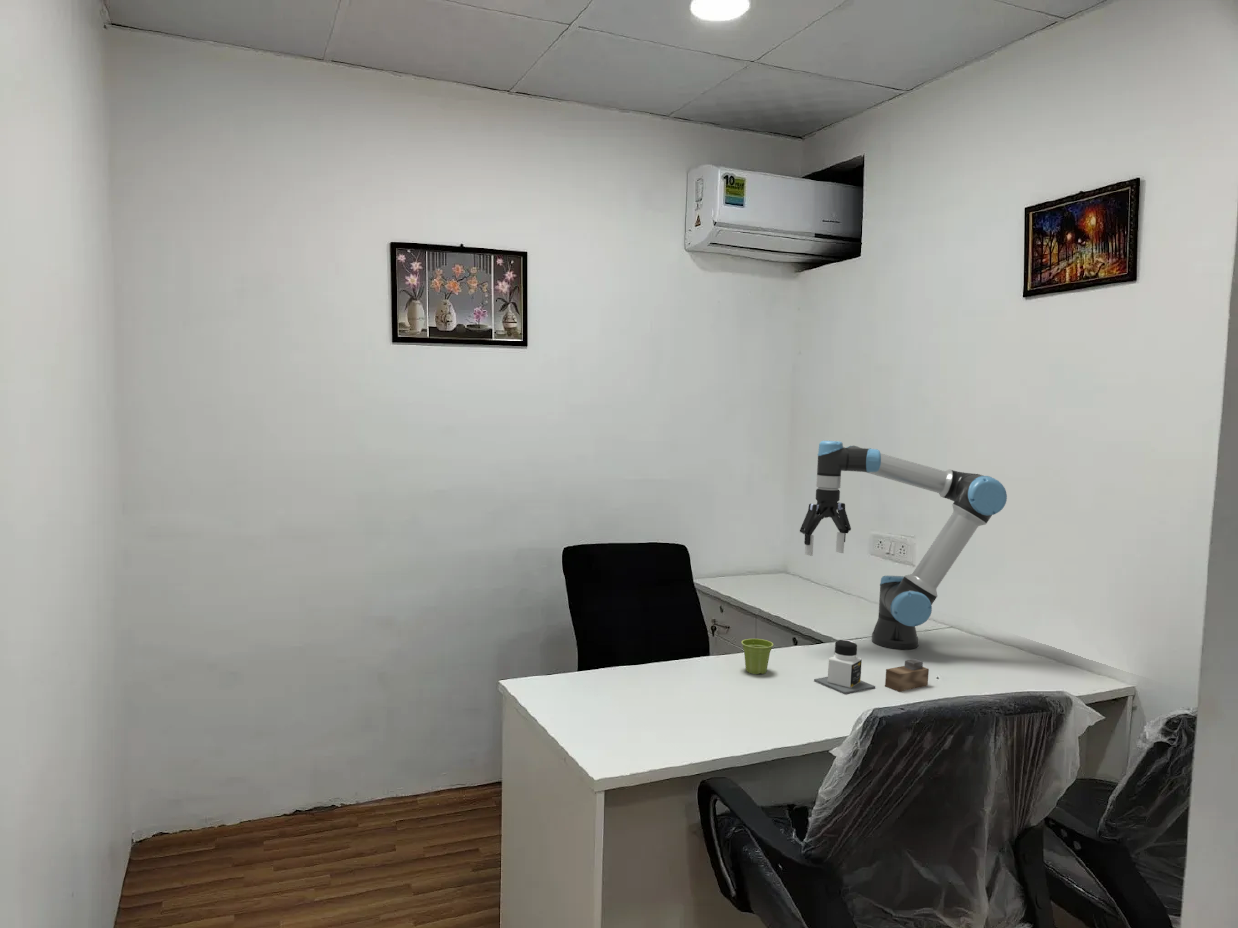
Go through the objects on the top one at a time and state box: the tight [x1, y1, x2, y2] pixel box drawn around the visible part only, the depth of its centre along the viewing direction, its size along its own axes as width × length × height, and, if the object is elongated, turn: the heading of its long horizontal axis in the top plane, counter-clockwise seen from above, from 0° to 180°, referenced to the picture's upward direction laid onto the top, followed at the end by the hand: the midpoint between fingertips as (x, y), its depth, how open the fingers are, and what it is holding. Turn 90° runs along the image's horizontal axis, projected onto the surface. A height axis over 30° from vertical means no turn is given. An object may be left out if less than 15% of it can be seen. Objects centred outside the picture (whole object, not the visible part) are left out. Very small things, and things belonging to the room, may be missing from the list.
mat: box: [813, 676, 876, 695], centre depth 241 cm, size 12×12×1 cm
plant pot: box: [741, 638, 774, 675], centre depth 249 cm, size 9×9×9 cm
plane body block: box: [884, 658, 930, 693], centre depth 241 cm, size 12×5×7 cm, turn 120°
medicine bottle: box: [827, 639, 862, 688], centre depth 240 cm, size 7×7×12 cm
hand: (824, 553), depth 272 cm, fingers open, 13 cm apart
